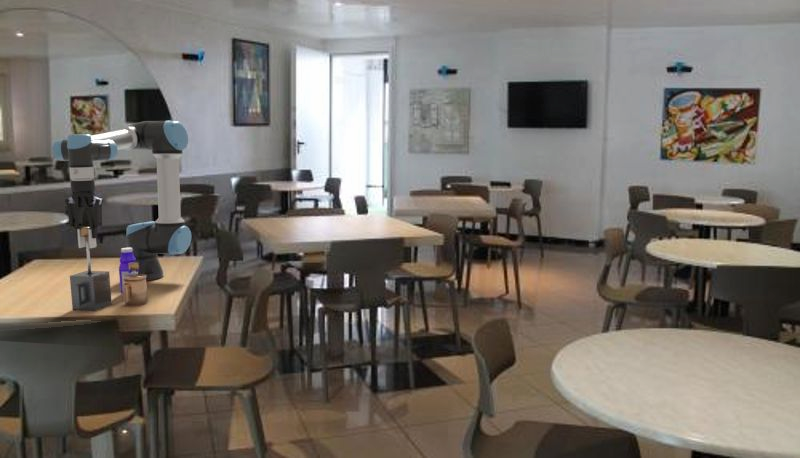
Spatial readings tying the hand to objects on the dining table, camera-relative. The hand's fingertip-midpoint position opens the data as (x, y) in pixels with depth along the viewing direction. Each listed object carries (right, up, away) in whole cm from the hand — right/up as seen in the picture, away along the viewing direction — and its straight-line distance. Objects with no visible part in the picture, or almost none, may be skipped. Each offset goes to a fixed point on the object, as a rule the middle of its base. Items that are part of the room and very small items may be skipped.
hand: (87, 247), depth 244 cm
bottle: (+6, -18, +23) cm, 30 cm away
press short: (+13, -20, +7) cm, 25 cm away
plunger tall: (0, -12, +2) cm, 12 cm away
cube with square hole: (0, -21, +2) cm, 21 cm away
